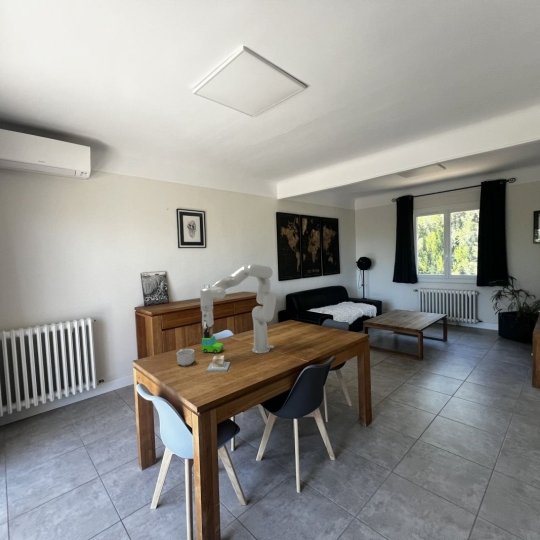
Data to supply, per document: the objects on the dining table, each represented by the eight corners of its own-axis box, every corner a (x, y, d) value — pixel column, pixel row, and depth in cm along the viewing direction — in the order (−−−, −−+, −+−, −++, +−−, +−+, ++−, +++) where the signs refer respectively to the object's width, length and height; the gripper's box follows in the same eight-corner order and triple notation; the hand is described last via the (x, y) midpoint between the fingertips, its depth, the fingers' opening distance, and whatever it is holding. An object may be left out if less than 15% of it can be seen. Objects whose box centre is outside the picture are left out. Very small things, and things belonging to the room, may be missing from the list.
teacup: (196, 365, 175) (196, 352, 175) (178, 368, 170) (178, 355, 169) (191, 358, 187) (190, 346, 187) (174, 361, 182) (173, 349, 181)
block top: (212, 336, 179) (212, 326, 179) (210, 338, 174) (210, 328, 174) (205, 336, 179) (204, 326, 179) (202, 338, 174) (202, 328, 174)
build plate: (230, 363, 176) (230, 361, 176) (226, 371, 164) (226, 369, 164) (211, 364, 176) (211, 361, 176) (206, 371, 164) (206, 369, 164)
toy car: (219, 354, 194) (218, 340, 193) (201, 353, 197) (200, 339, 196) (224, 349, 204) (224, 336, 203) (207, 348, 207) (207, 335, 206)
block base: (224, 363, 173) (224, 355, 173) (222, 367, 167) (222, 358, 167) (214, 363, 173) (214, 355, 173) (212, 367, 167) (212, 359, 167)
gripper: (209, 310, 167) (210, 340, 168) (216, 305, 184) (217, 333, 185) (196, 310, 167) (198, 340, 168) (204, 305, 184) (205, 333, 185)
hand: (208, 336), depth 176 cm, fingers closed on block top, 4 cm apart
